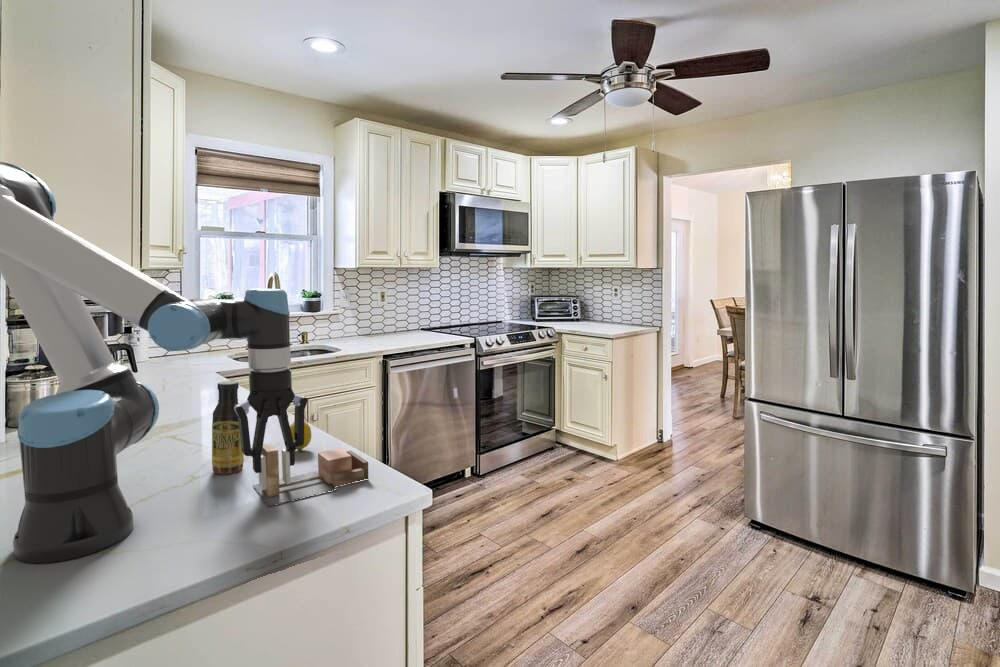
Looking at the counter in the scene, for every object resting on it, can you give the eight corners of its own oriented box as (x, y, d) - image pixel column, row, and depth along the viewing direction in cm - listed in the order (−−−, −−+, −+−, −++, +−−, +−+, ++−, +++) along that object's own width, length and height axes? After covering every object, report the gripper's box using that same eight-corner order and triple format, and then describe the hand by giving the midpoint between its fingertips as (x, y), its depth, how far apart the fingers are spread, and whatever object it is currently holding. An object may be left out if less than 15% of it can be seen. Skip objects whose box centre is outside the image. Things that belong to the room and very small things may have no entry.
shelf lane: (348, 465, 120) (348, 448, 119) (371, 482, 110) (370, 463, 110) (253, 486, 107) (252, 467, 107) (269, 507, 98) (268, 486, 97)
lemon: (304, 445, 133) (303, 415, 132) (316, 450, 130) (315, 419, 129) (283, 451, 129) (282, 419, 128) (295, 456, 126) (294, 423, 125)
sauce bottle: (209, 477, 112) (204, 385, 110) (216, 466, 118) (212, 380, 116) (242, 474, 114) (238, 384, 112) (248, 464, 120) (244, 379, 117)
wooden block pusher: (341, 470, 116) (340, 430, 115) (351, 478, 111) (351, 437, 110) (261, 487, 105) (259, 444, 104) (269, 497, 101) (268, 452, 100)
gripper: (307, 361, 110) (311, 469, 112) (217, 370, 99) (224, 488, 102) (320, 366, 104) (323, 480, 106) (226, 376, 93) (232, 502, 96)
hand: (275, 484), depth 104 cm, fingers closed on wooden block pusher, 4 cm apart
